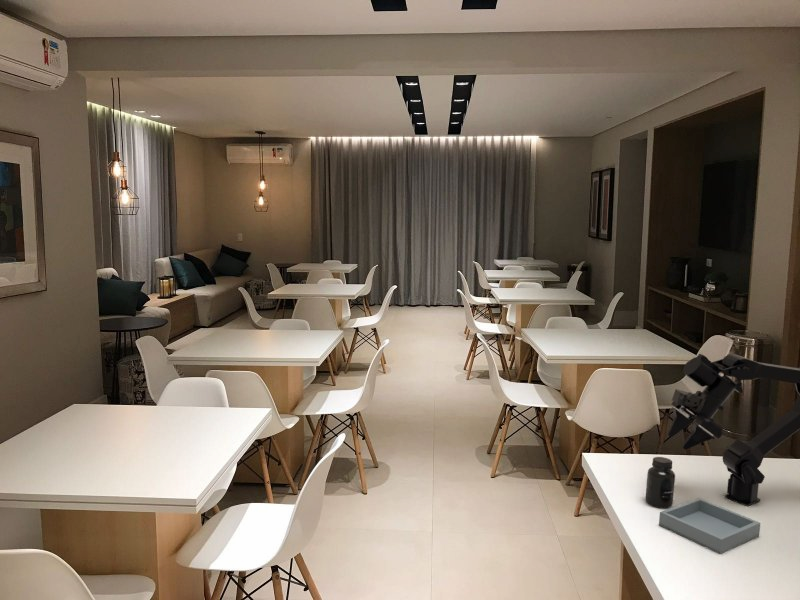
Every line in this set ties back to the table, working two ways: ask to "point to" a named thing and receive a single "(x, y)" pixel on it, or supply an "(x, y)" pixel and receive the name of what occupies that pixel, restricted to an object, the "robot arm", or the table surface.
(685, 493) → the table surface
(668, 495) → the supplement bottle
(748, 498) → the robot arm
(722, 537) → the box
